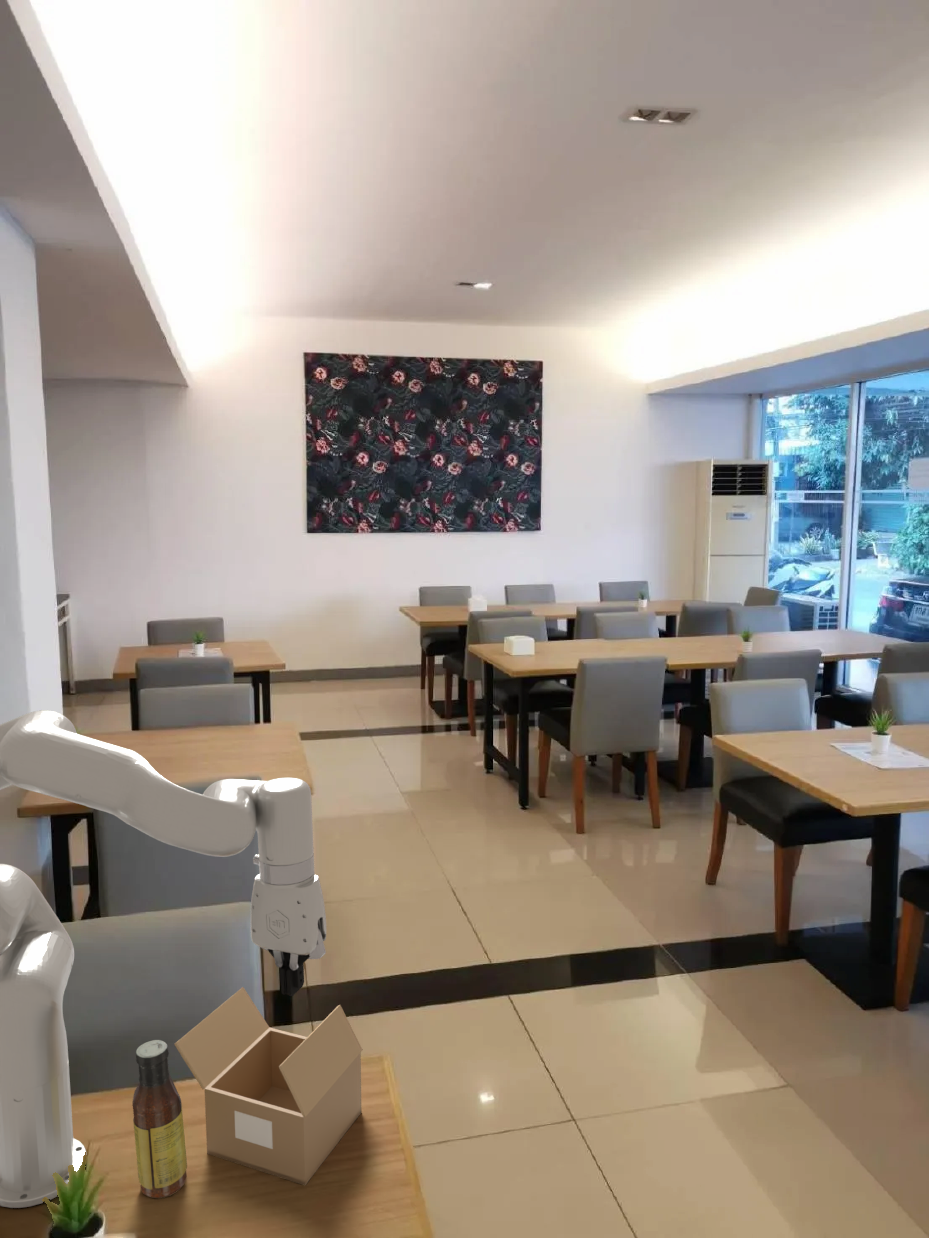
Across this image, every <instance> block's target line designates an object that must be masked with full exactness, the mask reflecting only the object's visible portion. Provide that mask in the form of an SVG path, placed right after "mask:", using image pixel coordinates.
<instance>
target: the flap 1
mask: <svg viewBox="0 0 929 1238" xmlns="http://www.w3.org/2000/svg"><path fill="white" fill-rule="evenodd" d="M269 1027H270V1026H269V1024H268V1023H267V1021H266V1020H265V1019H264V1016H263V1014H261V1012H260V1010H259V1009H258V1007H257V1006H256V1004H255V1003H254V1002H253V1000H252V998H251V996H250V995H249V994H248V992H247V991H246V989H245V988H244V987H243V986H242V987H241V988H240V989H238V990H237V991H236V992H235V993H234V994H232V995H231V996H230V997H229V998H227V1000H225V1001H224V1002H222V1003H221V1004H220V1005H218V1007H217V1008H216V1009H214V1010H213V1011H212V1012H211V1013H209V1014H208V1015H207V1016H206V1017H205V1018H204V1019H202V1020H201V1021H200V1022H199V1023H198V1024H197V1025H195V1026H194V1027H193V1028H191V1029H190V1030H189V1031H188V1032H187V1033H186V1034H185V1035H183V1036H182V1037H181V1038H180V1039H178V1040H177V1041H176V1042H174V1043H173V1045H174V1047H175V1048H176V1050H177V1051H178V1053H179V1054H180V1056H181V1057H182V1060H183V1061H184V1062H185V1064H186V1066H187V1067H188V1069H189V1070H190V1073H192V1075H193V1077H194V1078H195V1080H196V1082H197V1083H198V1085H199V1086H200V1088H201V1089H202V1090H205V1088H206V1087H207V1086H208V1085H209V1084H210V1083H211V1082H212V1081H213V1080H214V1079H215V1078H216V1077H217V1076H218V1075H219V1074H221V1073H222V1072H223V1071H224V1070H225V1069H226V1068H227V1067H228V1066H229V1065H230V1064H231V1063H232V1062H233V1061H234V1060H235V1059H237V1058H238V1057H239V1056H240V1055H241V1054H242V1053H243V1052H244V1051H245V1050H246V1049H247V1048H248V1047H249V1046H250V1045H251V1044H252V1043H254V1042H255V1041H256V1040H257V1039H258V1038H259V1037H260V1036H261V1035H262V1034H263V1033H264V1032H265V1031H266V1030H267V1029H268V1028H269Z"/></svg>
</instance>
